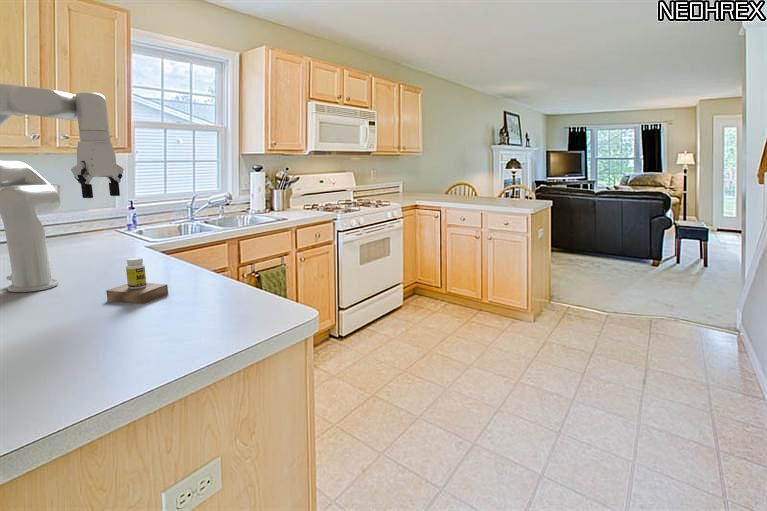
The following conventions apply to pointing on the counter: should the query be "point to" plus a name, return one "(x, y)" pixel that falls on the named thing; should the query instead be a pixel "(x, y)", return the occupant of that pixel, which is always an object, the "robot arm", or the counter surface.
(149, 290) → the walnut base
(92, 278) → the counter surface
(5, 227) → the robot arm
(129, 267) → the supplement bottle
